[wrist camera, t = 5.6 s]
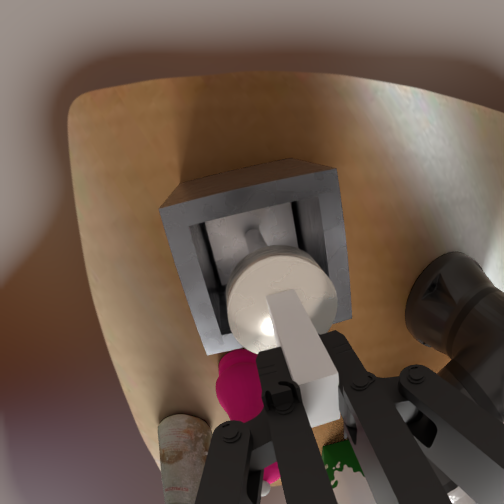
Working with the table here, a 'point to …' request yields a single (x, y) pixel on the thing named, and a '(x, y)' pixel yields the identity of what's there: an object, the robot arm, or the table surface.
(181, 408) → the table surface
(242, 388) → the pepper mill
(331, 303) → the plunger
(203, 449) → the bottle
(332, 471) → the milk carton
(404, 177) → the table surface
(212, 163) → the table surface
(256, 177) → the tower
